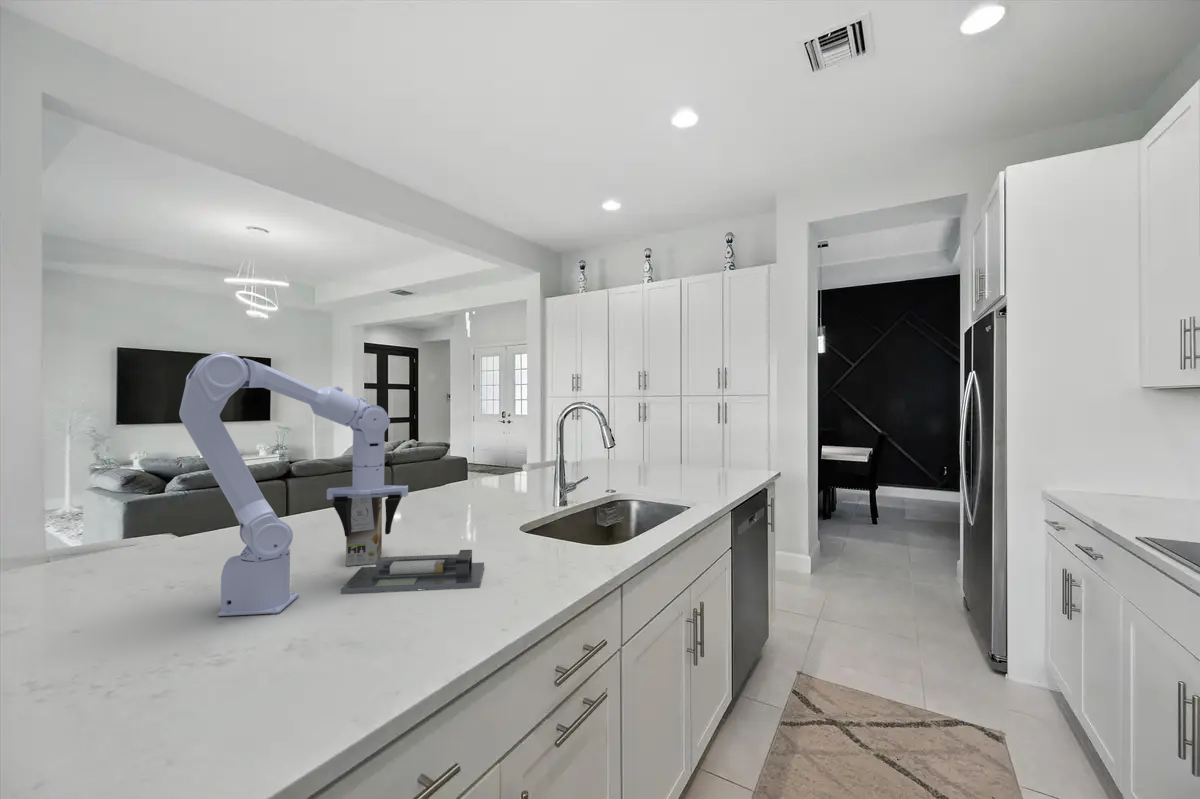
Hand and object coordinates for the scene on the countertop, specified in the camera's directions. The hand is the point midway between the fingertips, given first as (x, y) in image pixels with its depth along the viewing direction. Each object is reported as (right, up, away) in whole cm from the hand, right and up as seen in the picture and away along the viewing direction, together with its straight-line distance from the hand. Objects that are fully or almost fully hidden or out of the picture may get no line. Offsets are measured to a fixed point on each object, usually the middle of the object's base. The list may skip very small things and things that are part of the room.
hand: (368, 534), depth 100 cm
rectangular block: (+9, -8, +1) cm, 13 cm away
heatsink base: (+9, -10, +1) cm, 13 cm away
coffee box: (-7, -10, +14) cm, 19 cm away
